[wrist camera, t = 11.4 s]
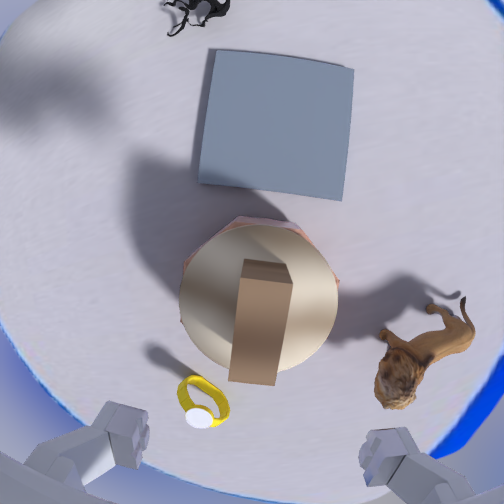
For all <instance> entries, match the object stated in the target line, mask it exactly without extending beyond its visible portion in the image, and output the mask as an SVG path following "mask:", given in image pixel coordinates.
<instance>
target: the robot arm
mask: <svg viewBox="0 0 504 504" xmlns="http://www.w3.org/2000/svg"><path fill="white" fill-rule="evenodd" d="M147 421H148V412H147V411H146V410H142V409H138V408H134V407H131V406H127V405H123V404H119V403H116V402H112V401H108V402H106V403H105V405H104V406H103V408H102V409H101V411H100V412H99V414H98V416H97V417H96V419H95V420H94V422H93V423H92V425H91V426H84V427H82V428H79V429H77V430H74V431H72V432H69V433H67V434H64V435H62V436H59V437H56V438H54V439H52V440H48V441H46V442H43V443H41V444H38V445H37V447H36V448H35V449H34V451H33V452H32V453H31V455H30V456H29V457H28V459H27V460H26V461H25V463H24V464H22V463H20V462H18V461H16V460H15V459H13V458H11V457H9V456H8V455H6V454H4V453H3V452H1V451H0V504H117V503H114V502H111V501H108V500H105V499H102V498H99V497H96V496H94V495H91V494H88V493H87V492H86V490H85V488H84V485H86V484H87V483H89V482H91V481H92V480H94V479H95V478H97V477H99V476H100V475H102V474H103V473H105V472H106V471H108V470H109V469H111V468H113V467H114V466H115V464H117V465H121V466H124V467H128V468H132V469H136V470H138V468H139V465H140V463H141V460H142V458H143V457H142V451H144V450H146V448H147V445H148V441H149V433H150V430H149V426H148V425H147V424H146V423H147ZM366 439H367V442H365V443H364V444H363V445H362V446H361V449H360V451H359V463H360V467H362V468H363V469H364V470H366V471H365V472H364V474H363V476H364V479H365V482H366V485H367V487H372V486H382V485H387V487H388V488H389V489H391V490H392V491H393V492H394V493H395V494H396V495H397V496H398V497H400V498H401V499H402V500H403V501H404V502H405V503H407V504H504V484H502V485H499V486H497V487H495V488H492V489H490V490H487V491H485V492H482V493H480V494H477V495H475V493H474V491H473V489H472V488H471V486H470V484H469V483H468V481H467V479H466V477H465V476H463V475H462V474H460V473H458V472H456V471H455V470H453V469H451V468H449V467H448V466H446V465H444V464H442V463H441V462H439V461H437V460H435V459H434V458H432V457H430V456H429V455H427V454H425V453H420V451H419V449H418V447H417V445H416V443H415V442H414V440H413V438H412V436H411V434H410V433H409V431H408V429H407V428H406V427H399V428H389V429H377V430H370V431H369V432H368V434H367V436H366Z"/></svg>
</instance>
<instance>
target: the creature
mask: <svg viewBox="0 0 504 504" xmlns="http://www.w3.org/2000/svg"><path fill="white" fill-rule="evenodd" d="M167 1H168V0H167ZM177 1H180V0H174V2H173V3H171V2H166V3H165V4H164V6H165V5H166V4H169V5H170V6H175V5H176V2H177ZM201 1H202V0H189V5H188V4H186V3H184V2H182V1H180V2H182V3H184V5H185V6H186V7H187V8H188V9H189V10H194V9H195V8H196V7H197V5H198V4H199V3H200V2H201ZM203 1H207V2H208V3H210V5H211V9H210V12H209V14H208V15H207V16H206V17H205V20H204V21H203V22H202V25H198V24H197V26H200V27H204V26H205V22H206V21H207V20H208V19H209V18H211V17H222V16H225V15H226V12H227V11H228V10H229V7H230V0H226V2H225V3H224V4H220V3H219V2H218V1H217V0H203ZM187 8H185V7H179V9H180V10H182V11H185V14H186V15H185V16H184V19H183V21H182V26H181V27H180V29H179V30H178V31H177V32H176V33H175V34H173V35H169V34H168V36H170V37H172V36H175V35H176V34H178V33H179V32H180V31H181V30H183V29H184V27H185V24H186V21H187V22H188V19H189V18H188V19H187V16H188V15H189V10H188V9H187ZM207 22H208V21H207ZM180 24H181V23H180ZM180 24H178V25H180ZM178 25H176V26H178ZM190 25H191V24H190ZM176 26H174V27H176ZM192 26H196V25H192Z"/></svg>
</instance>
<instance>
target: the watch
mask: <svg viewBox="0 0 504 504" xmlns="http://www.w3.org/2000/svg"><path fill="white" fill-rule="evenodd" d="M187 384H193V385H196V386H197V387H198V388H200V389H201V390H202V391H204V392H205V393H207V394H208V395H210V396H211V397H212V398H213V399H214V401H215V402H216V404H217V405H218V408H219V411H220V418H214V414H213V412H212V411H211V410H210V409H209V408H207V407H206V406H203V405H195V404H194V402H193V401H192V400H191V398H190V397H189V394H188V391H187ZM177 396H178V399H179V402H180V404H181V406H182V408H183V409H184V410H185V412H186V414H185V419H186V421H187V422H188V423H189V424H190V425H191V426H193V427H195V428H199V429H204V428H208V427H216V426H218V425H219V424H221V423H222V422H224V421H225V420H226V419H227V418H228V417H229V413H230V407H229V404H228V401H227V399H226V397H225V396H224V394H223V393H222V391H221V390H219V389H218V388H216V387H215V386H214V385H212V384H211V383H209V382H208V381H207V380H205V379H204V378H203V377H202V376H197V375H190V376H189V377H187V378H185V379H184V380H183V381H182V382H181V383H180V384H179V385H178V390H177Z"/></svg>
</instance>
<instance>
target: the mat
mask: <svg viewBox="0 0 504 504" xmlns="http://www.w3.org/2000/svg"><path fill="white" fill-rule="evenodd" d="M353 82H354V69H350V68H346V67H341V66H337V65H332V64H327V63H322V62H316V61H311V60H305V59H299V58H292V57H285V56H278V55H269V54H260V53H250V52H238V51H222V50H217V52H216V57H215V63H214V69H213V75H212V81H211V87H210V93H209V100H208V106H207V113H206V120H205V127H204V134H203V141H202V149H201V157H200V165H199V173H198V182H197V183H203V184H213V185H223V186H232V187H241V188H250V189H258V190H266V191H274V192H281V193H289V194H296V195H303V196H310V197H317V198H323V199H330V200H336V201H342V196H343V188H344V180H345V172H346V163H347V154H348V144H349V134H350V123H351V111H352V97H353Z"/></svg>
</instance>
